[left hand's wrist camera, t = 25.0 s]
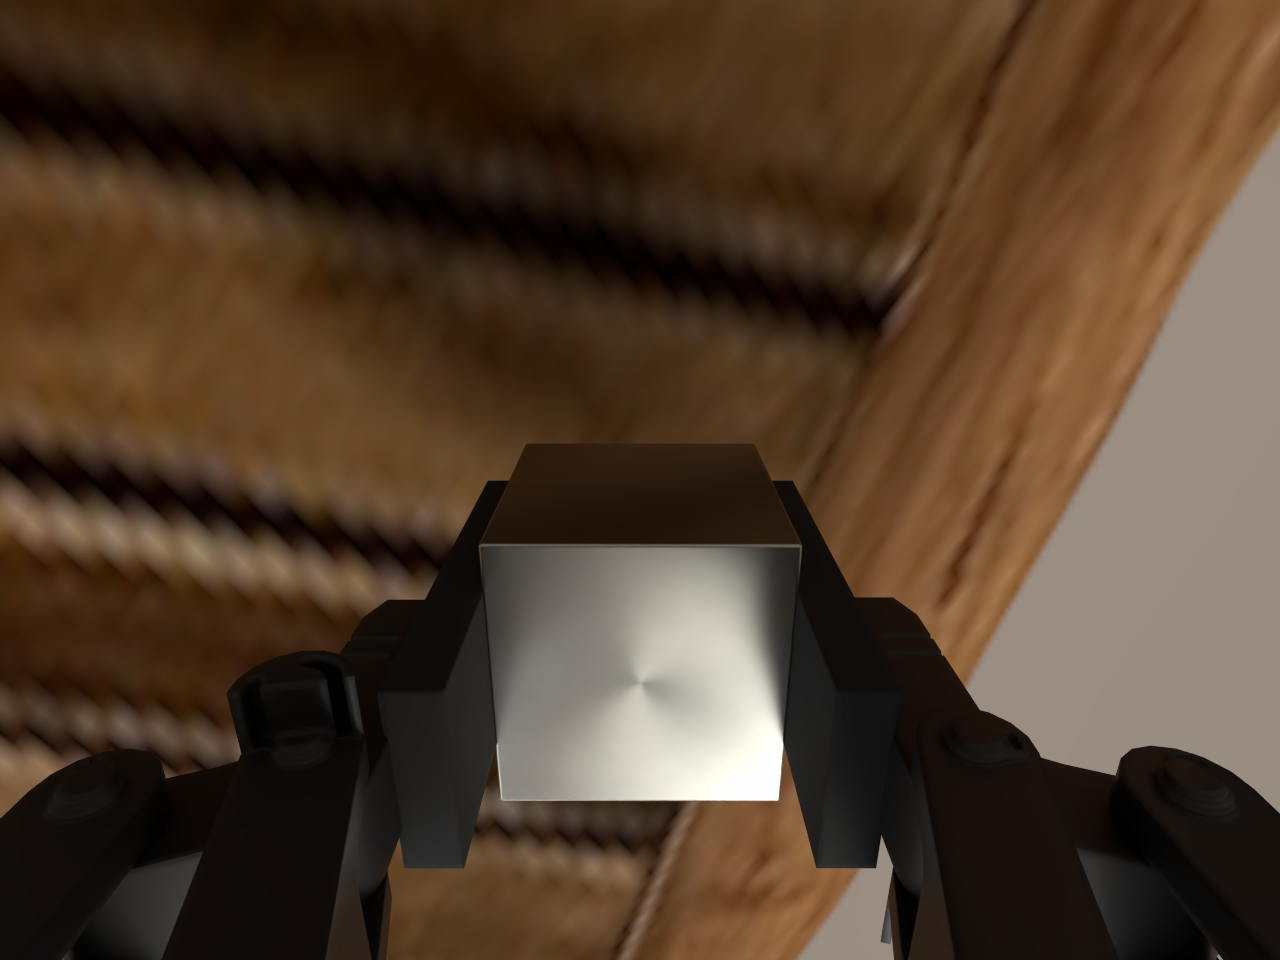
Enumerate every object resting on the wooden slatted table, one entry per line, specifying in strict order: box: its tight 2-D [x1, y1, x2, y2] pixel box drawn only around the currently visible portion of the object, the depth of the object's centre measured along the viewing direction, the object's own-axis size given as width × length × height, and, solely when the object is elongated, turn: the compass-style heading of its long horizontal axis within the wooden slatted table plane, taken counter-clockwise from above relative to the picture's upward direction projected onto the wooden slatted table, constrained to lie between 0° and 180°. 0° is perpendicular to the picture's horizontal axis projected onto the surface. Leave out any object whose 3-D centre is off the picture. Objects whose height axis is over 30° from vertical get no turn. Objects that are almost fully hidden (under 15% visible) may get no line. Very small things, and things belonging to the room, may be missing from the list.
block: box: [479, 444, 802, 801], centre depth 13 cm, size 4×5×4 cm
